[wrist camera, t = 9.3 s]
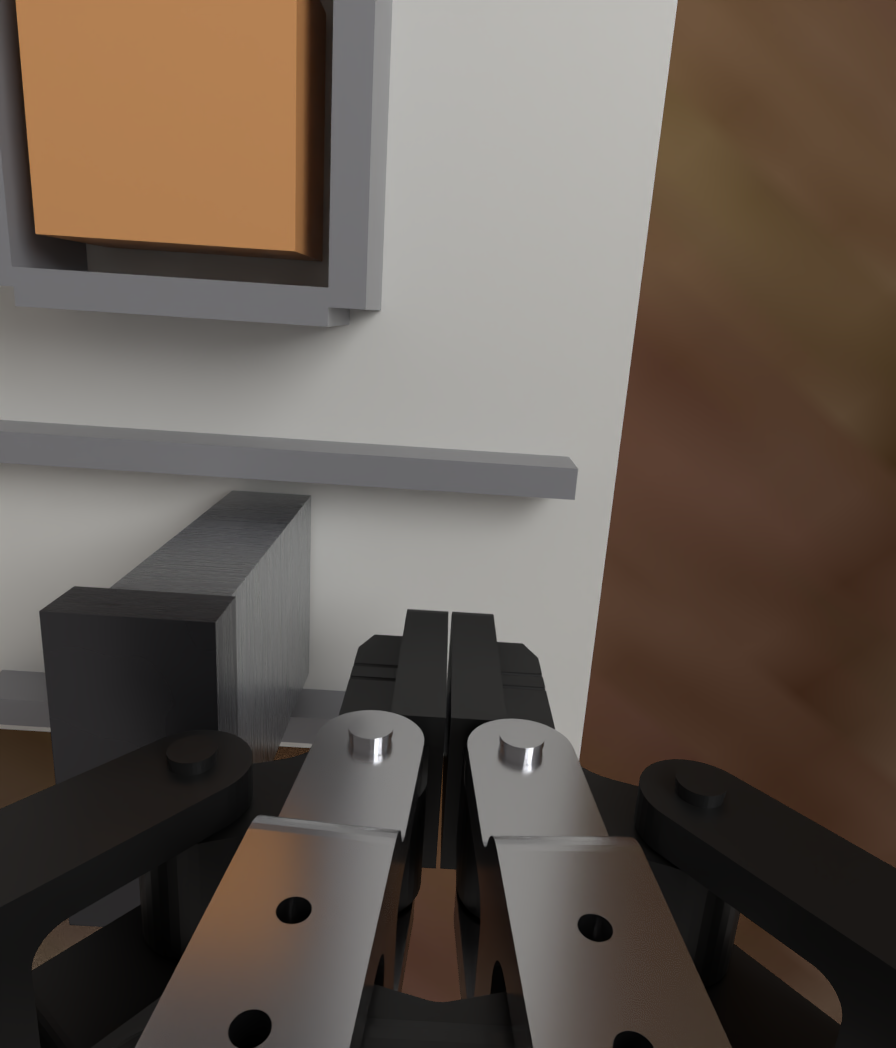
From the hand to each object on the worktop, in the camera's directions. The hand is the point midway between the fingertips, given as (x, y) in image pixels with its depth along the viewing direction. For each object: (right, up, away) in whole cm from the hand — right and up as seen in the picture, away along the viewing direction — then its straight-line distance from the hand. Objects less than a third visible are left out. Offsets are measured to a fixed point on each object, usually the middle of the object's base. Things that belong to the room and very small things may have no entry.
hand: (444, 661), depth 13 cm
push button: (-4, +9, 0) cm, 10 cm away
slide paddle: (-4, +1, +3) cm, 5 cm away
